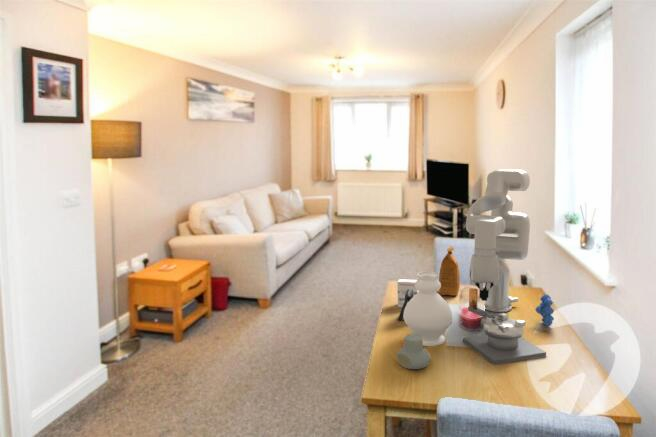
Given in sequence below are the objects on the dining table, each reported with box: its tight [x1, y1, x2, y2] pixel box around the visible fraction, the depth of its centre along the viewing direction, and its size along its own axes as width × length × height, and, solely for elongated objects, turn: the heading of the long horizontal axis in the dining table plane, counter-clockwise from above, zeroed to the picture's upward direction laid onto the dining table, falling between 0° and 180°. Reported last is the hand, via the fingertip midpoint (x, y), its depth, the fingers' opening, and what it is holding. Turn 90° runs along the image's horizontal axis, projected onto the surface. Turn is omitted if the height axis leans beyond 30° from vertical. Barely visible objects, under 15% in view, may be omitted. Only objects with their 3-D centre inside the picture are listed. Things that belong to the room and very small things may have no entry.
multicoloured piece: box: [467, 287, 526, 340], centre depth 178 cm, size 23×13×12 cm, turn 27°
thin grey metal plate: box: [462, 333, 547, 366], centre depth 175 cm, size 20×20×6 cm
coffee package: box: [438, 245, 461, 296], centre depth 236 cm, size 10×12×22 cm
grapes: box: [534, 293, 555, 328], centre depth 195 cm, size 12×7×12 cm, turn 170°
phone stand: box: [397, 289, 414, 323], centre depth 205 cm, size 9×6×12 cm, turn 74°
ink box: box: [397, 278, 419, 308], centre depth 220 cm, size 9×5×12 cm, turn 75°
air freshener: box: [396, 333, 431, 370], centre depth 164 cm, size 11×8×10 cm
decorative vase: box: [403, 271, 453, 347], centre depth 183 cm, size 18×18×25 cm
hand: (483, 299), depth 187 cm, fingers closed
